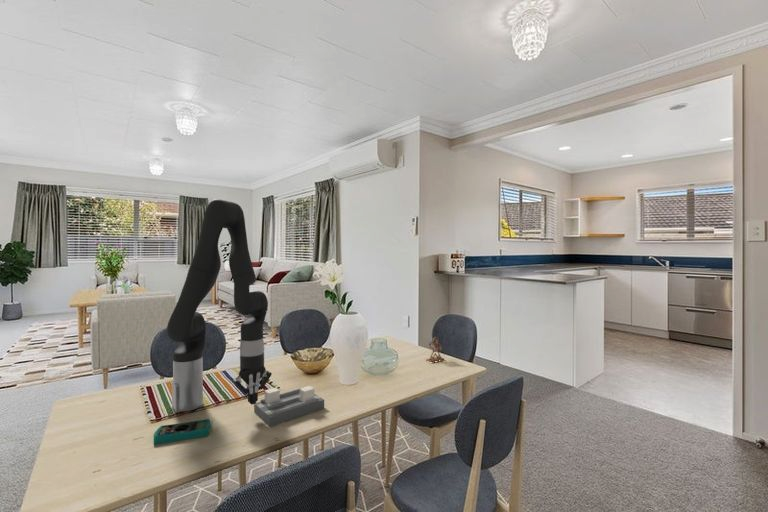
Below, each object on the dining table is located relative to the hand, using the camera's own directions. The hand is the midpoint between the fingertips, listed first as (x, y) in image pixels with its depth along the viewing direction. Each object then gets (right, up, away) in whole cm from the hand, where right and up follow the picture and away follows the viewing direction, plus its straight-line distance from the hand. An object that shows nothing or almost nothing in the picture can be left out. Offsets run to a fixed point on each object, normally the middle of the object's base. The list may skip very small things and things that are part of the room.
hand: (252, 403), depth 119 cm
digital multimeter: (-17, -6, -11) cm, 21 cm away
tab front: (+17, -1, +6) cm, 18 cm away
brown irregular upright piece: (+70, -4, +60) cm, 92 cm away
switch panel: (+11, -5, +6) cm, 13 cm away
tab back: (+5, -1, +5) cm, 7 cm away
